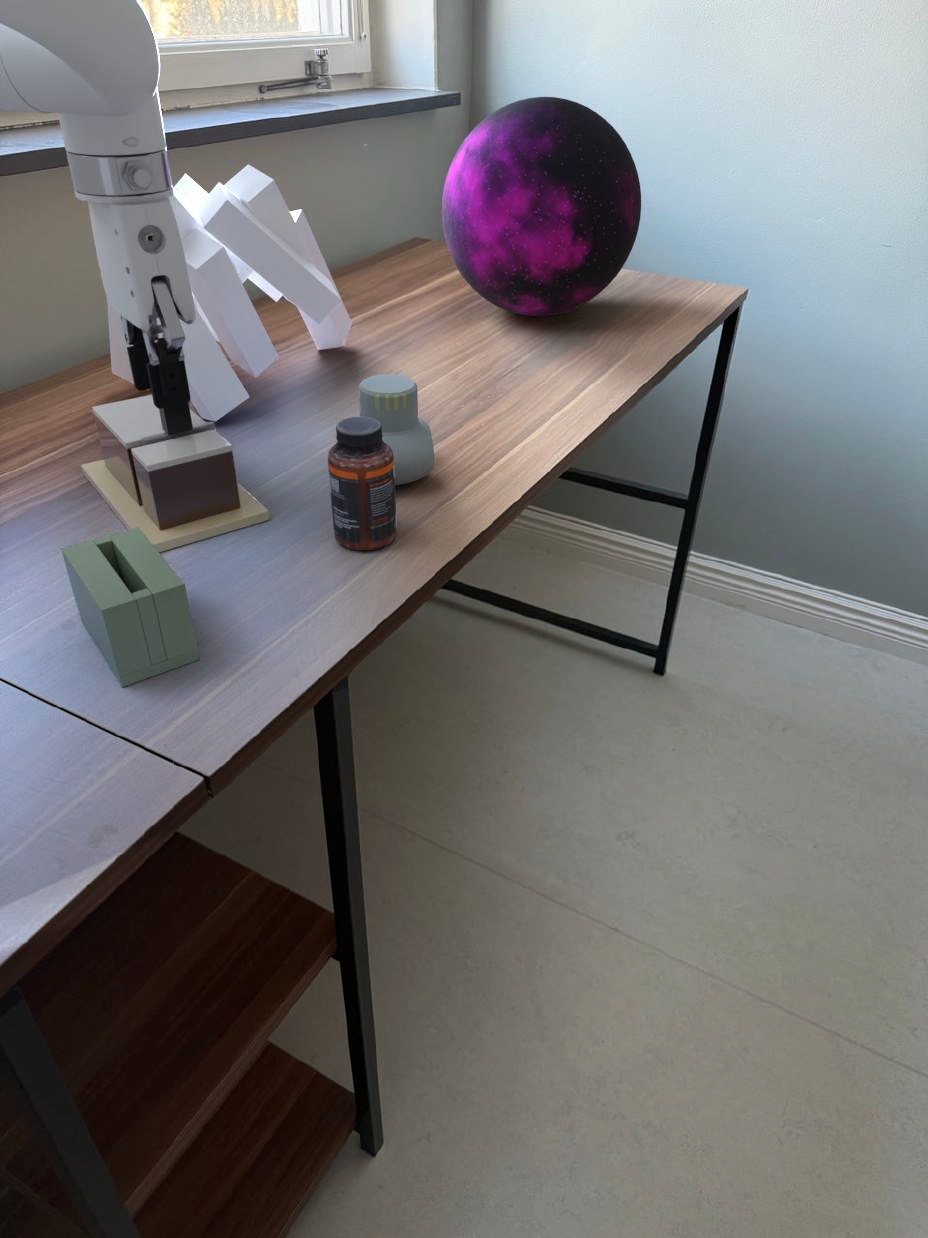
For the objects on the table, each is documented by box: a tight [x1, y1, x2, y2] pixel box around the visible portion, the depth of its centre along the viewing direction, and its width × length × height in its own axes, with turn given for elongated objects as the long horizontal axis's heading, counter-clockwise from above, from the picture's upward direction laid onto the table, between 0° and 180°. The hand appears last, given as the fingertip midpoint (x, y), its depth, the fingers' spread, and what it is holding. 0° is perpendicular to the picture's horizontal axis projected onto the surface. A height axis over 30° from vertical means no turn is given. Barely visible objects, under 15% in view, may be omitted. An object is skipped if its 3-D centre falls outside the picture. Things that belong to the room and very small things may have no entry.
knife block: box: [60, 527, 200, 688], centre depth 68 cm, size 10×6×7 cm, turn 36°
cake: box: [80, 394, 271, 553], centre depth 87 cm, size 12×20×8 cm, turn 36°
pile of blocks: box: [106, 164, 353, 423], centre depth 109 cm, size 35×30×35 cm
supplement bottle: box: [327, 416, 398, 551], centre depth 80 cm, size 6×6×11 cm
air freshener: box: [358, 373, 435, 486], centre depth 92 cm, size 11×8×10 cm
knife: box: [141, 401, 216, 446], centre depth 84 cm, size 7×2×13 cm, turn 126°
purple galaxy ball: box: [441, 96, 642, 317], centre depth 134 cm, size 30×30×30 cm
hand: (162, 393), depth 81 cm, fingers open, 4 cm apart
